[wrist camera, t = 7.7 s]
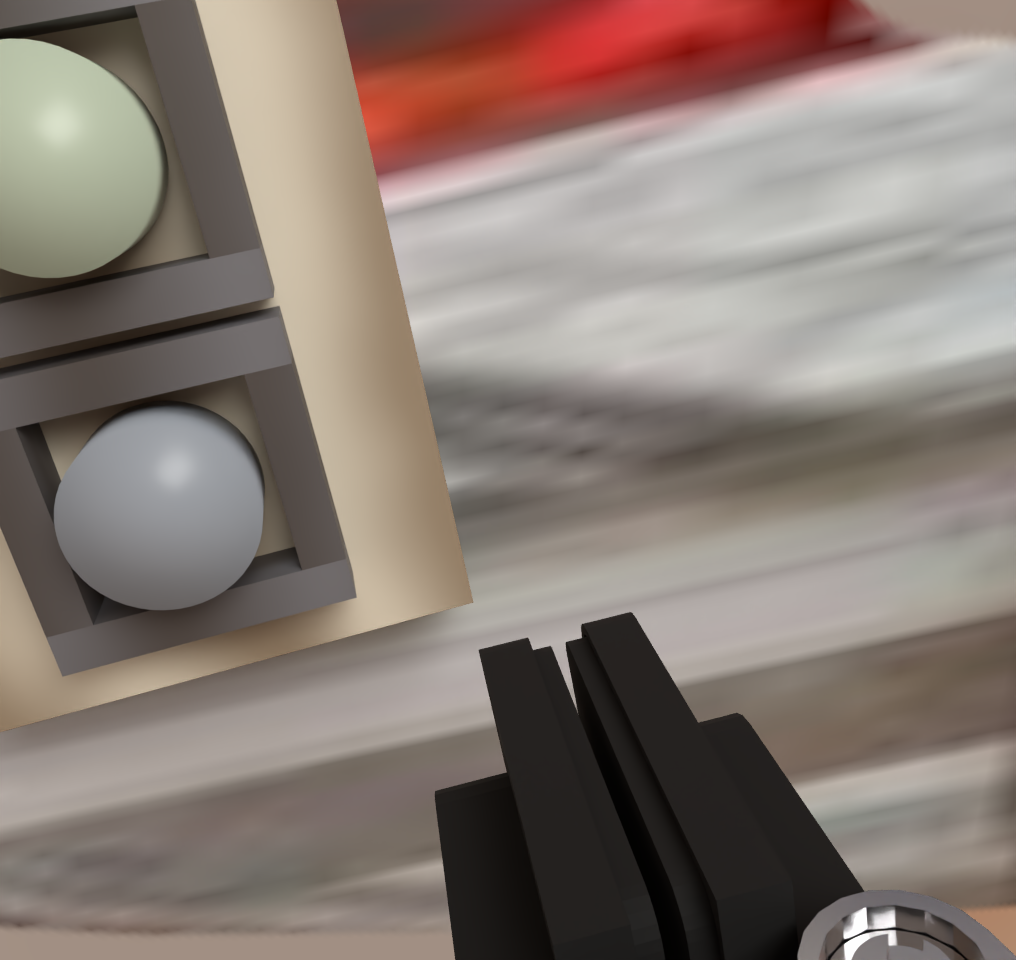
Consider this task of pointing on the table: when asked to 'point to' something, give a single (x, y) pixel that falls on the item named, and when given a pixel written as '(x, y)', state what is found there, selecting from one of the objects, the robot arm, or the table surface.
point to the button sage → (72, 162)
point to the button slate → (162, 506)
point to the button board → (225, 359)
